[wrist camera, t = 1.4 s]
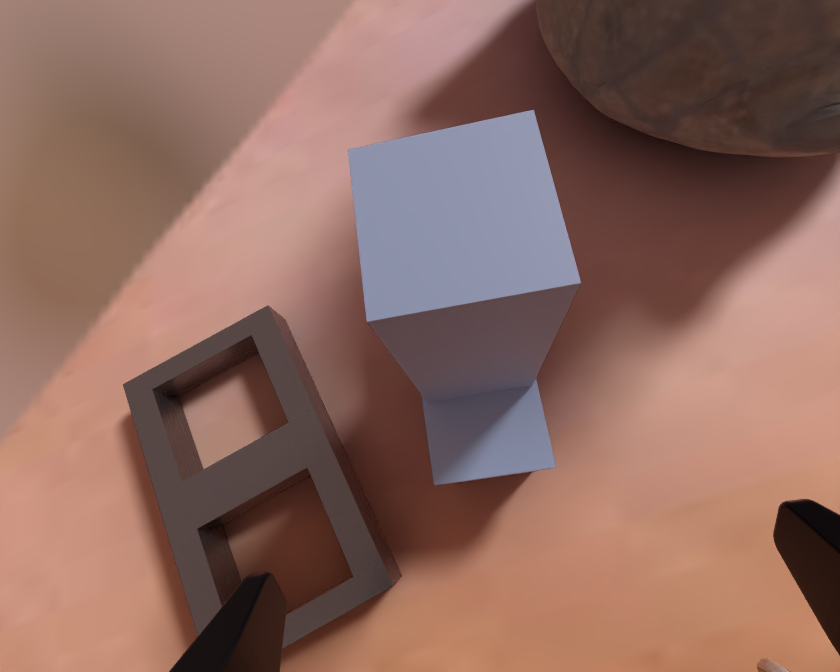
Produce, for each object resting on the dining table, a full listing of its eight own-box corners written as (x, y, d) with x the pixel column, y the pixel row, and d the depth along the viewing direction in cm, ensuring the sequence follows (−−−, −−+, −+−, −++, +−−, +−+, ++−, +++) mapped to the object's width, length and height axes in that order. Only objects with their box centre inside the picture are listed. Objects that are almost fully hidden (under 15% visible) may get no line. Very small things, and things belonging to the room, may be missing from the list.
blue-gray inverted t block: (541, 470, 21) (640, 449, 7) (444, 484, 21) (373, 489, 8) (498, 270, 24) (514, 4, 11) (415, 285, 24) (328, 48, 11)
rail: (402, 576, 20) (393, 585, 18) (239, 668, 20) (213, 687, 18) (284, 318, 25) (267, 305, 23) (151, 391, 24) (123, 384, 23)
